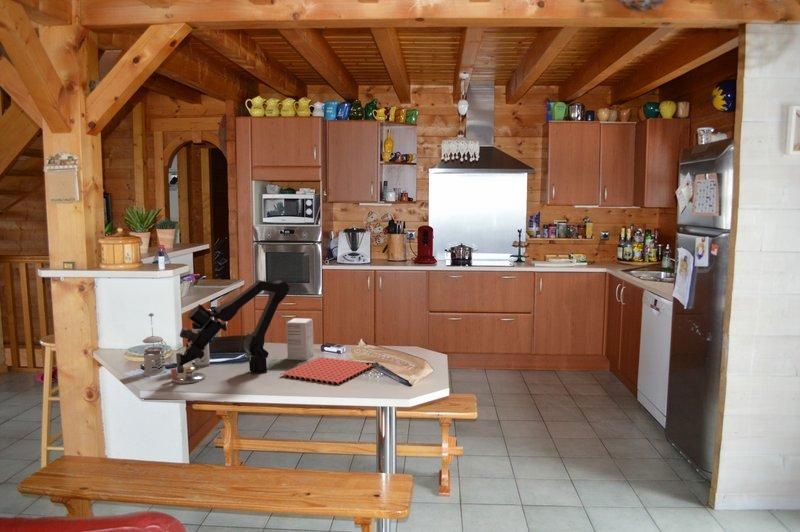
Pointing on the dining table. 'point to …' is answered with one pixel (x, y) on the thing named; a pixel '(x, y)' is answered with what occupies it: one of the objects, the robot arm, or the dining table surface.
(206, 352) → the travel mug
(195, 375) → the post base
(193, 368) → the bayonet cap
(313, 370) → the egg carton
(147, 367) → the french press
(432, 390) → the dining table surface
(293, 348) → the supplement box
